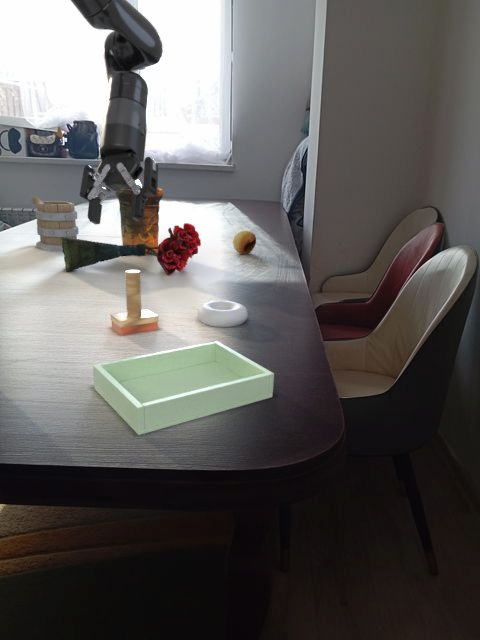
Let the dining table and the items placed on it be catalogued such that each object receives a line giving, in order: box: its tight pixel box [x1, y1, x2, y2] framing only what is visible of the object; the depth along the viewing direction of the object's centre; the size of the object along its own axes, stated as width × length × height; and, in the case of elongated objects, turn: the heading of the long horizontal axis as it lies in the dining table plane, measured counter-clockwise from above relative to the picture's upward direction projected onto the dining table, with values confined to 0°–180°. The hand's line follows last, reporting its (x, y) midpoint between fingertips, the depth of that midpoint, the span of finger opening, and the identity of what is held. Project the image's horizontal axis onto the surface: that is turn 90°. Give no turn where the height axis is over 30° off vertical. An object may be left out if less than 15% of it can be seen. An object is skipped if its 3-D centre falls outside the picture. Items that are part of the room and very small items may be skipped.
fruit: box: [232, 229, 257, 256], centre depth 169 cm, size 8×8×8 cm
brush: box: [109, 269, 159, 337], centre depth 92 cm, size 7×5×11 cm, turn 126°
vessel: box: [114, 187, 164, 256], centre depth 160 cm, size 14×14×20 cm
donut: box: [196, 300, 249, 328], centre depth 101 cm, size 10×4×10 cm
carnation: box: [61, 222, 202, 276], centre depth 136 cm, size 16×18×35 cm
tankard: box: [30, 195, 79, 252], centre depth 164 cm, size 20×13×15 cm, turn 48°
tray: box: [92, 340, 275, 436], centre depth 70 cm, size 20×15×4 cm
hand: (114, 221), depth 88 cm, fingers open, 8 cm apart
